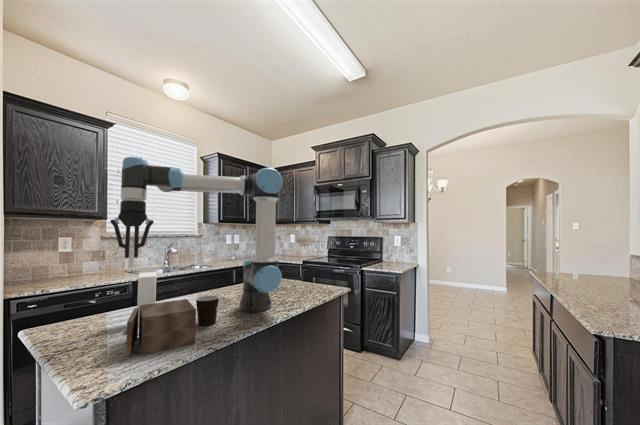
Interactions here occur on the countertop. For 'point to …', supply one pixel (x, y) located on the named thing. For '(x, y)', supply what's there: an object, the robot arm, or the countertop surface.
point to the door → (131, 331)
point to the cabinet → (166, 326)
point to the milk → (146, 287)
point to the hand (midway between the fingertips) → (130, 267)
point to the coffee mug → (207, 310)
